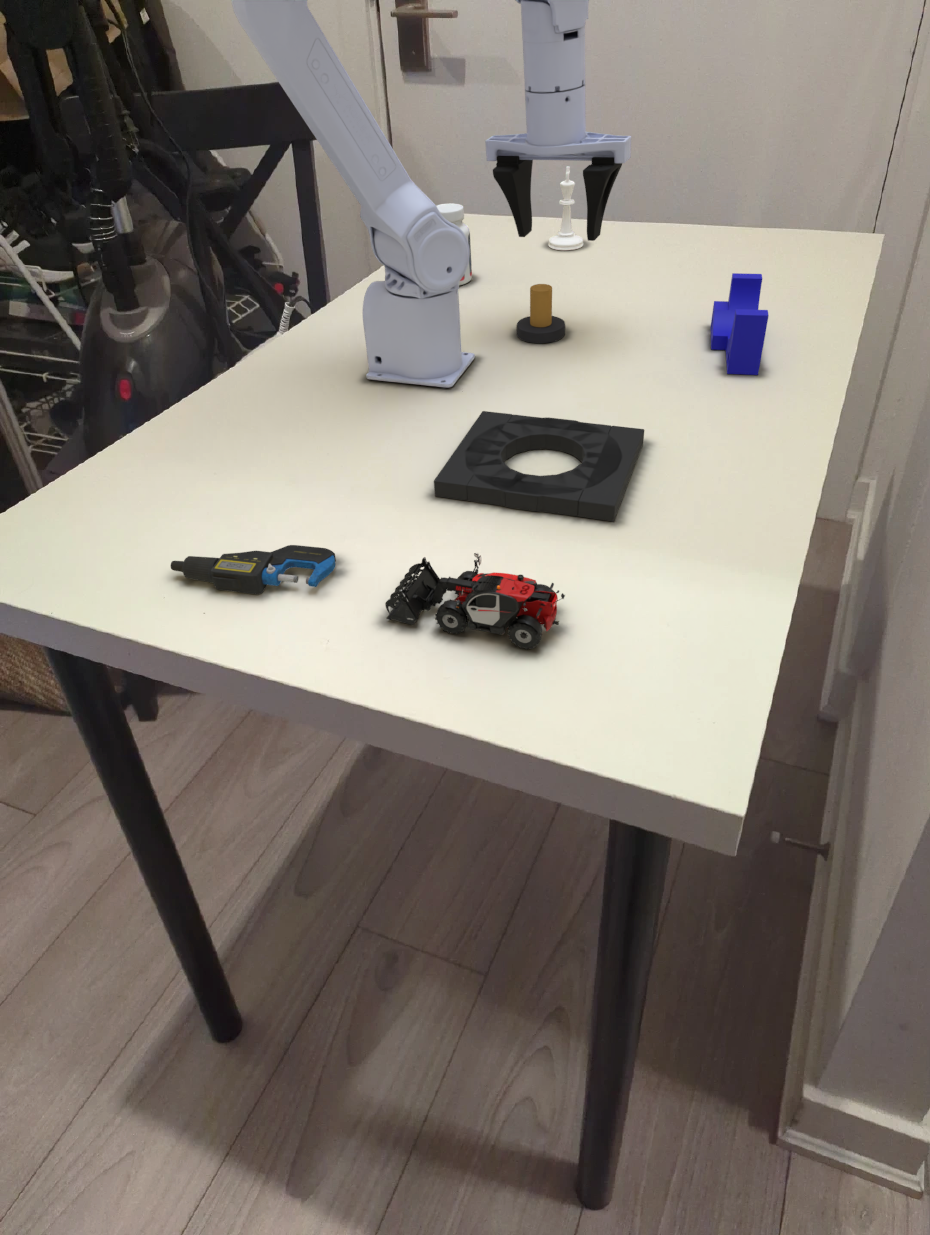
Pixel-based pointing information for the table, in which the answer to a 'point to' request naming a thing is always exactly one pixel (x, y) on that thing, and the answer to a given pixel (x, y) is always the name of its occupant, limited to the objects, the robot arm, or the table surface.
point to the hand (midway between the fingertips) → (559, 235)
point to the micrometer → (258, 568)
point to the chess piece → (566, 220)
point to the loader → (478, 602)
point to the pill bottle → (455, 216)
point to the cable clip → (740, 325)
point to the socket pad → (570, 493)
